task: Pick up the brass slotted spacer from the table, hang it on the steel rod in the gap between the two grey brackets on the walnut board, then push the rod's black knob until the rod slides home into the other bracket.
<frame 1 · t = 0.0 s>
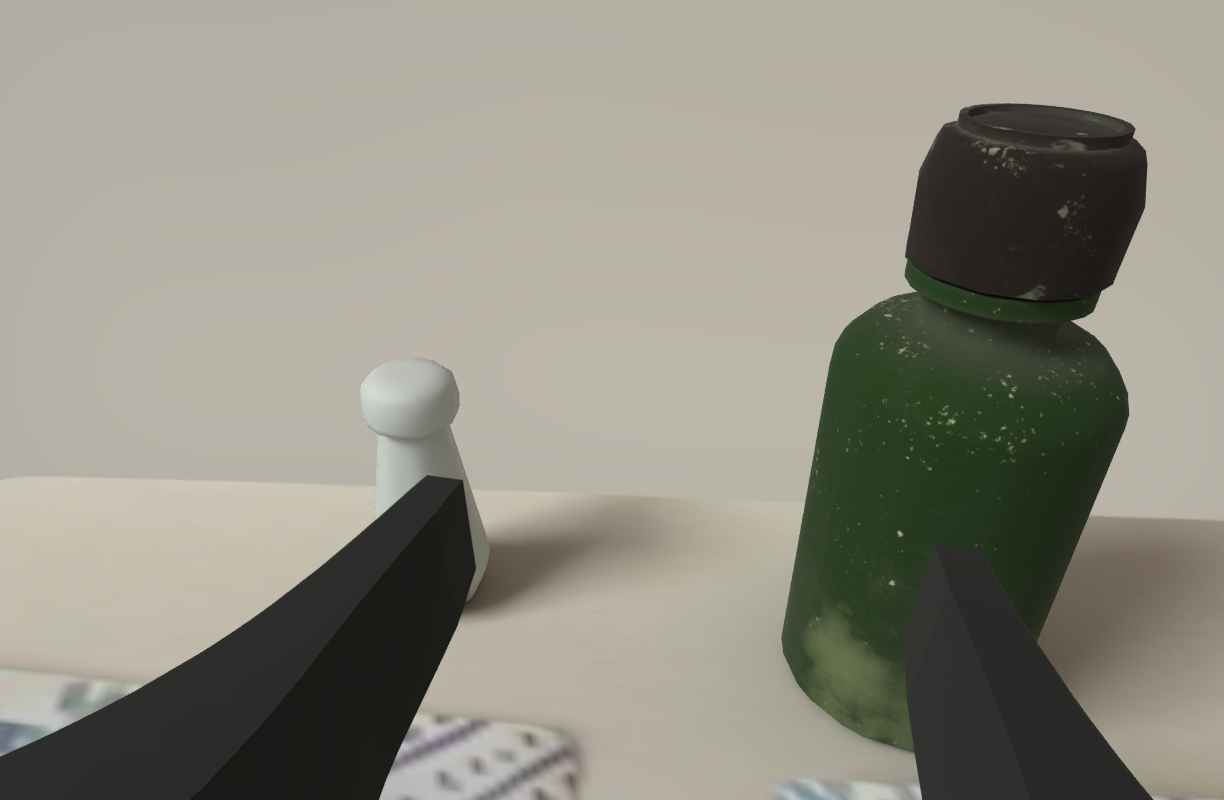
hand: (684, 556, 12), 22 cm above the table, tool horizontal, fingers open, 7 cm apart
green bottle: (889, 663, 38), on the table
salt shaker: (437, 591, 42), on the table
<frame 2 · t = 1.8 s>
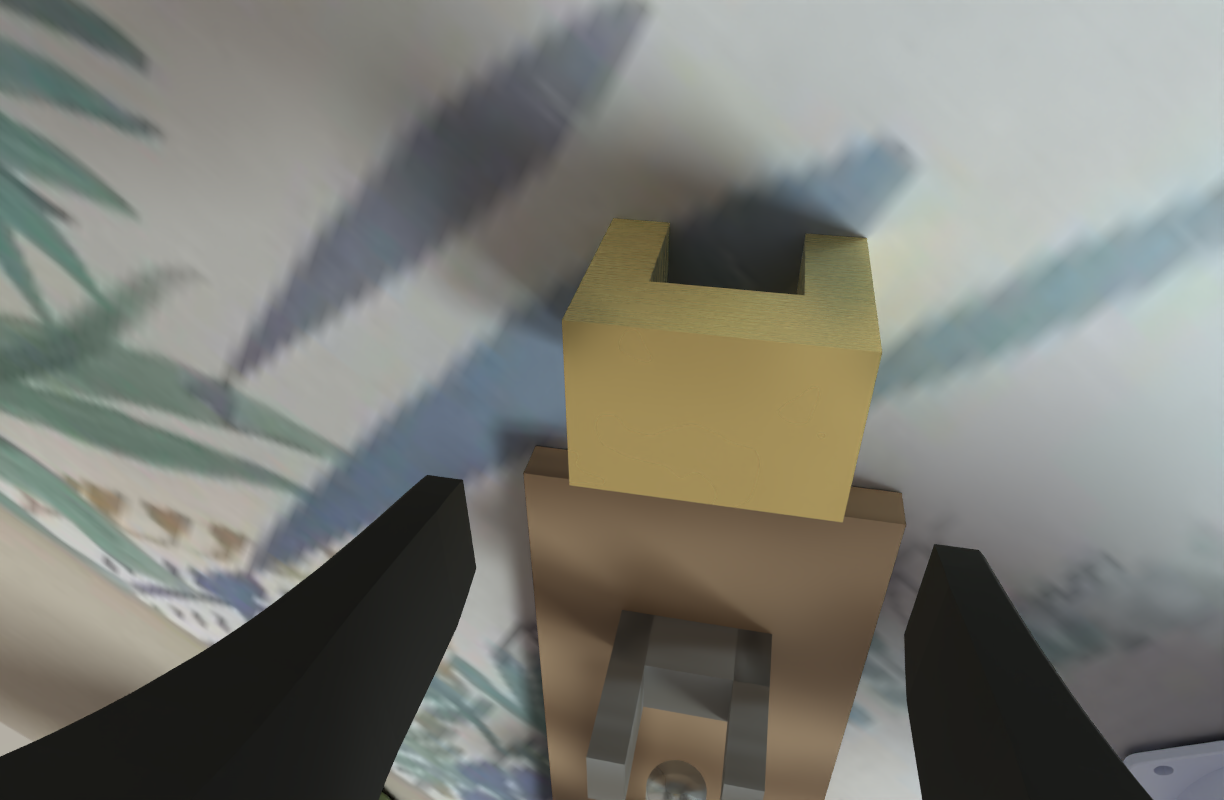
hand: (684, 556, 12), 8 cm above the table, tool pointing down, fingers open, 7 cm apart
spacer: (729, 307, 19), on the table
shaft bracket: (688, 720, 29), on the table
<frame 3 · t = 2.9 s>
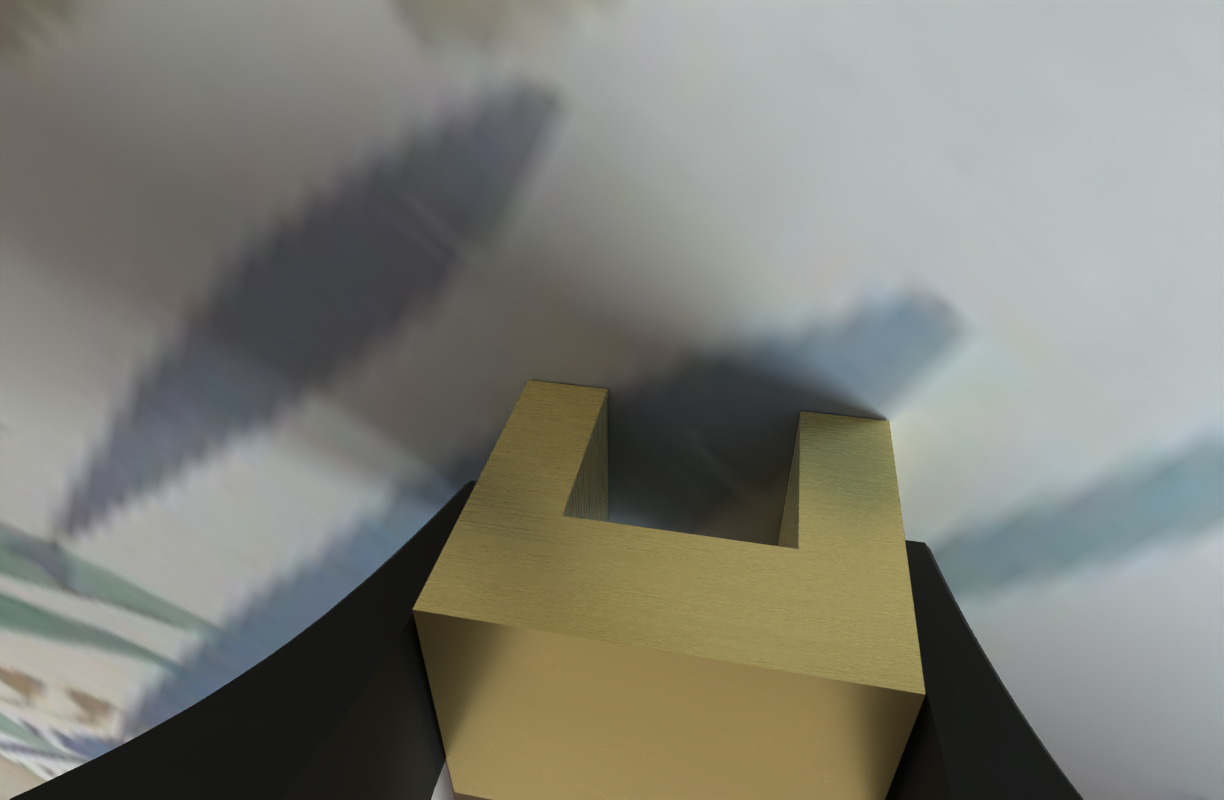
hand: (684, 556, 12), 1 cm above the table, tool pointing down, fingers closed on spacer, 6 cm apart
spacer: (694, 495, 14), on the table, touching gripper
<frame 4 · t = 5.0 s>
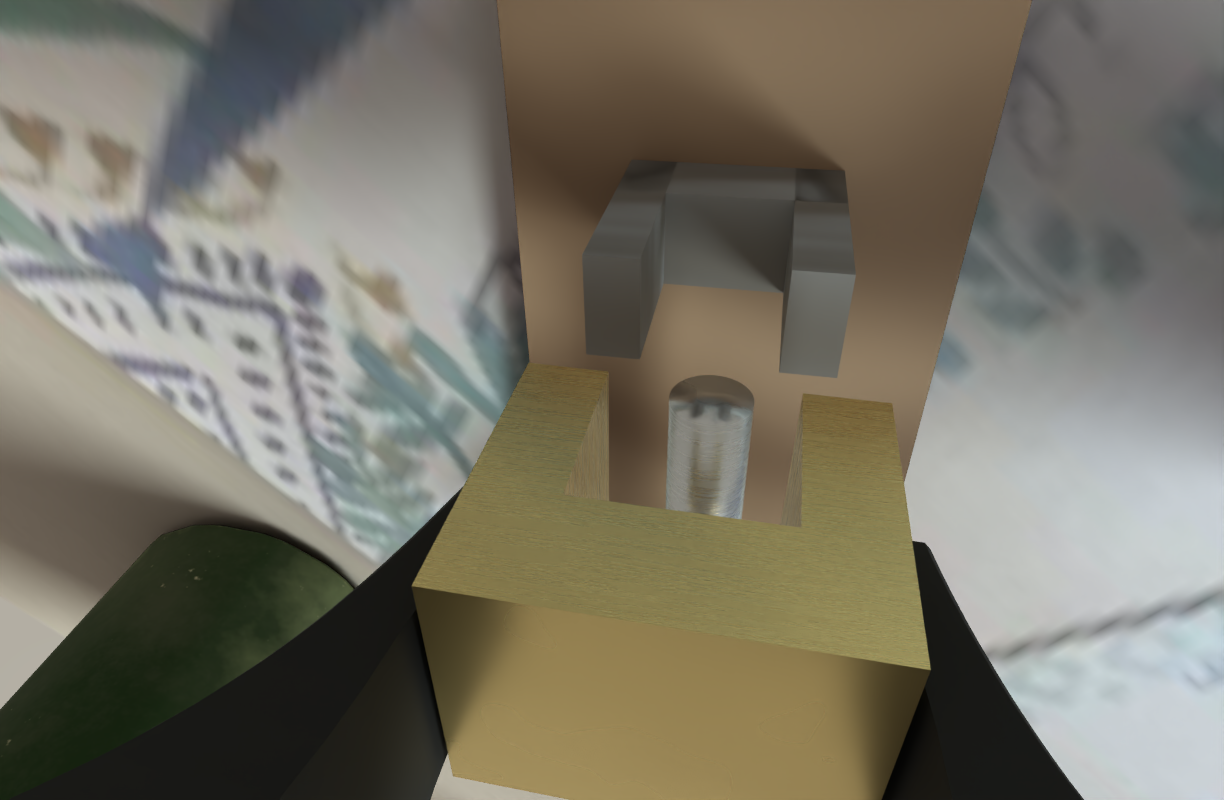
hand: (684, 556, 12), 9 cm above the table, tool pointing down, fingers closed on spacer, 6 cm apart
green bottle: (275, 605, 32), on the table
spacer: (695, 480, 13), point 8 cm above the table, touching gripper
shaft bracket: (720, 399, 22), on the table
shaft: (695, 632, 21), point 4 cm above the table, slide at 0.0 cm
when the fingers open (5 cm above the table, at t = 7.0 s): spacer stays where it is, resting on shaft.
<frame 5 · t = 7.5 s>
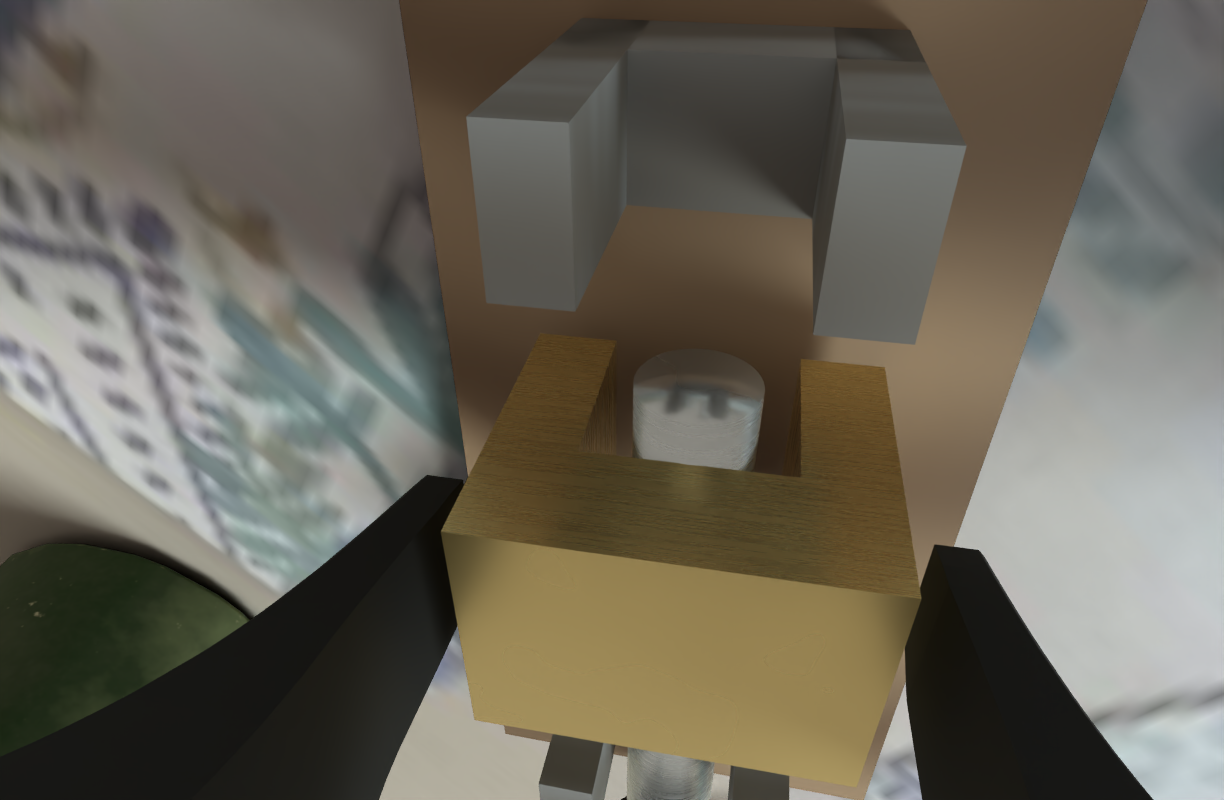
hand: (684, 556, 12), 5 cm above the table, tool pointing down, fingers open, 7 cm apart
green bottle: (165, 640, 26), on the table
spacer: (699, 444, 14), point 2 cm above the table, touching shaft
shaft bracket: (712, 389, 16), on the table
shaft: (674, 710, 15), point 4 cm above the table, slide at 0.0 cm, touching spacer
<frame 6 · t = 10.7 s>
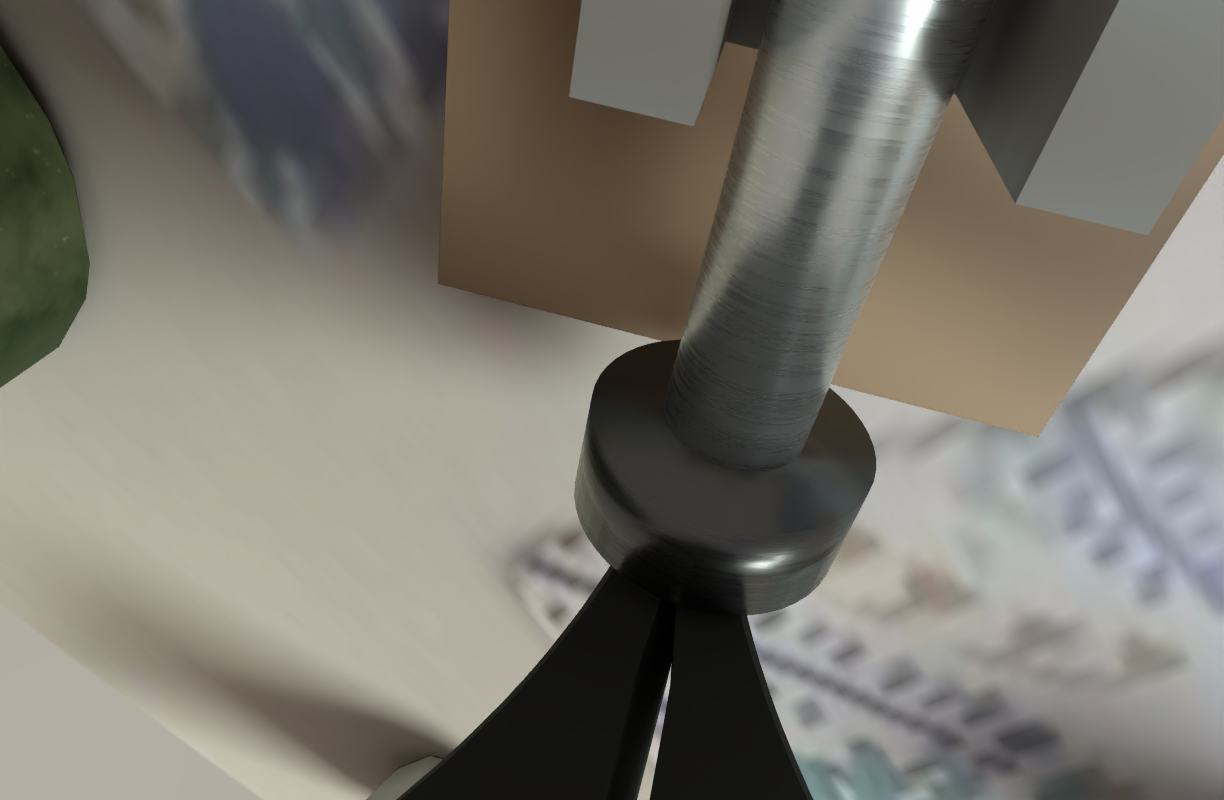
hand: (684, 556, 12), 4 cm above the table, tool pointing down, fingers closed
salt shaker: (458, 786, 26), on the table
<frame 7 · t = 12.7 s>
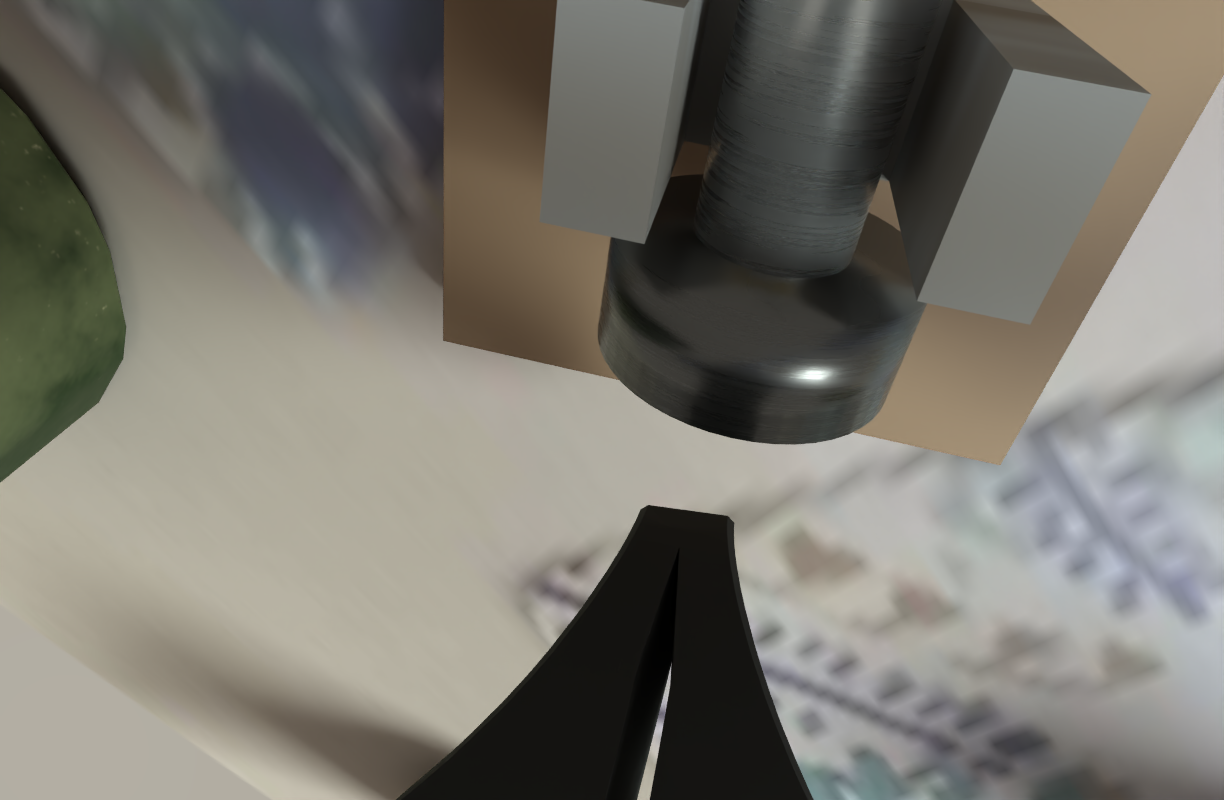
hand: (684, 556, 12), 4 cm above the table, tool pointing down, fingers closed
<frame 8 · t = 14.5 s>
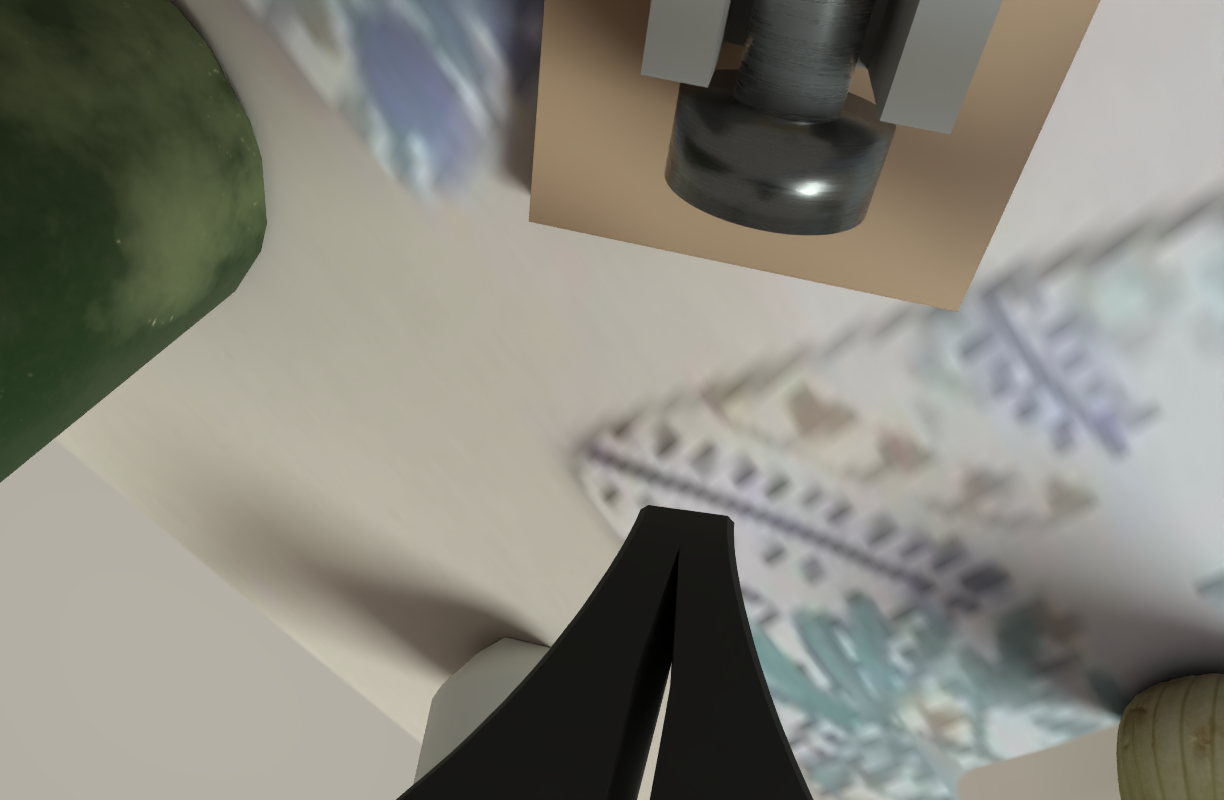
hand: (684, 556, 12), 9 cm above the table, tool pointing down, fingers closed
fennel bulb: (1196, 691, 25), on the table
green bottle: (97, 131, 21), on the table
salt shaker: (527, 667, 32), on the table
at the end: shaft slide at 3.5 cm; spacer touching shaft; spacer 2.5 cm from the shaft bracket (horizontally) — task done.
